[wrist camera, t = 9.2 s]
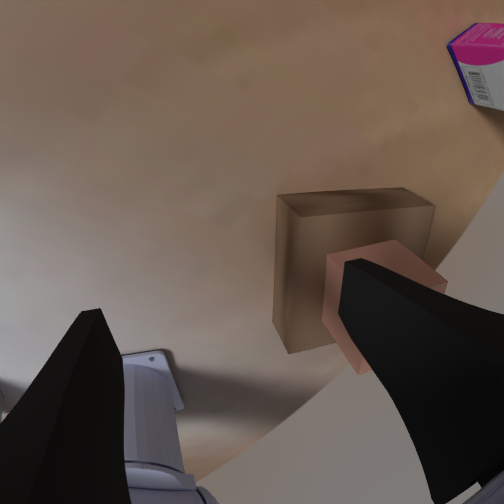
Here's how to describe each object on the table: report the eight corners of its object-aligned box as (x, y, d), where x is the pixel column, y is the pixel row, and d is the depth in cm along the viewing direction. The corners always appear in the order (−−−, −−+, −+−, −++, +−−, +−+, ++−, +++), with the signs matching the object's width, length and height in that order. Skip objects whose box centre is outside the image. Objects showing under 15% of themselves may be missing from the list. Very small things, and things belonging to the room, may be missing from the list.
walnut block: (270, 318, 24) (288, 354, 21) (274, 193, 19) (300, 217, 16) (377, 294, 27) (402, 322, 23) (399, 186, 22) (435, 205, 18)
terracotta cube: (321, 320, 20) (358, 375, 16) (326, 254, 18) (374, 307, 13) (383, 301, 21) (424, 346, 17) (395, 239, 19) (447, 281, 14)
